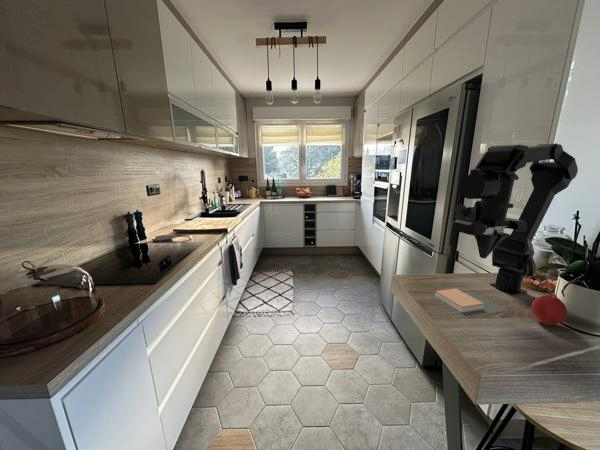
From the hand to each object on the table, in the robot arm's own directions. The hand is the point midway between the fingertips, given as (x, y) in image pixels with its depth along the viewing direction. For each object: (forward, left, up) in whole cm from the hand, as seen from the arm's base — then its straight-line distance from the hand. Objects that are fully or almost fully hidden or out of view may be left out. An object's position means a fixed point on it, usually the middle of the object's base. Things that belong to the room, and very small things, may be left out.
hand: (482, 257), depth 66 cm
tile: (+3, +1, -11) cm, 11 cm away
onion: (-6, +13, -12) cm, 19 cm away
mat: (+4, +2, -12) cm, 13 cm away
